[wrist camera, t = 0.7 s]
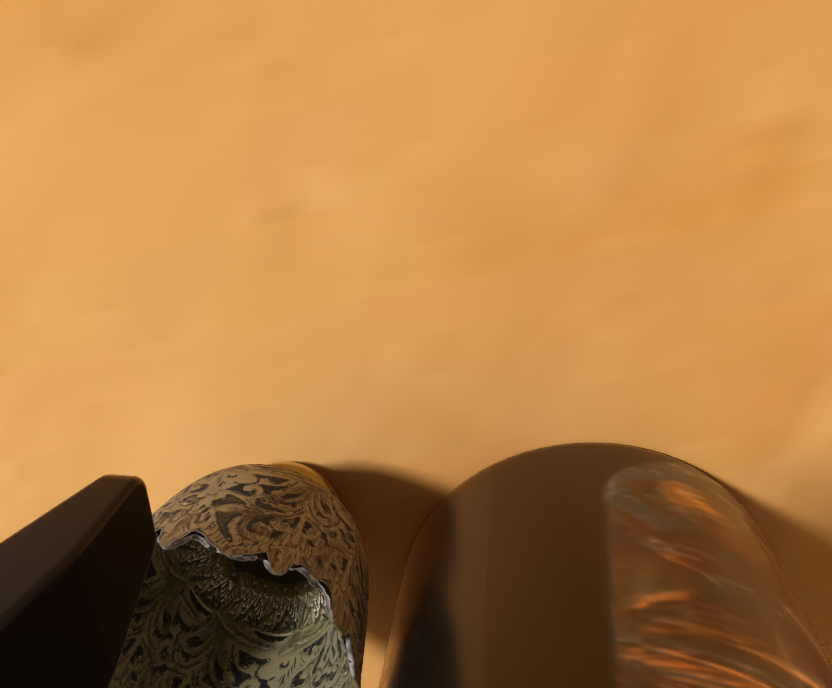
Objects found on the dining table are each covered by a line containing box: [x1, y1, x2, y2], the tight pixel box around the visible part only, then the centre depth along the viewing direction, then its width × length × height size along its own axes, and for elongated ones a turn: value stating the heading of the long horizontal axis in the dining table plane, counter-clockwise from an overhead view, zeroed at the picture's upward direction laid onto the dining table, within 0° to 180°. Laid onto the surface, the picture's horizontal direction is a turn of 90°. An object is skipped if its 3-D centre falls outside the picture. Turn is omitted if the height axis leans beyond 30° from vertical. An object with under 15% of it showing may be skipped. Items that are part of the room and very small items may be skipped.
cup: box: [109, 462, 369, 688], centre depth 22 cm, size 8×7×8 cm
